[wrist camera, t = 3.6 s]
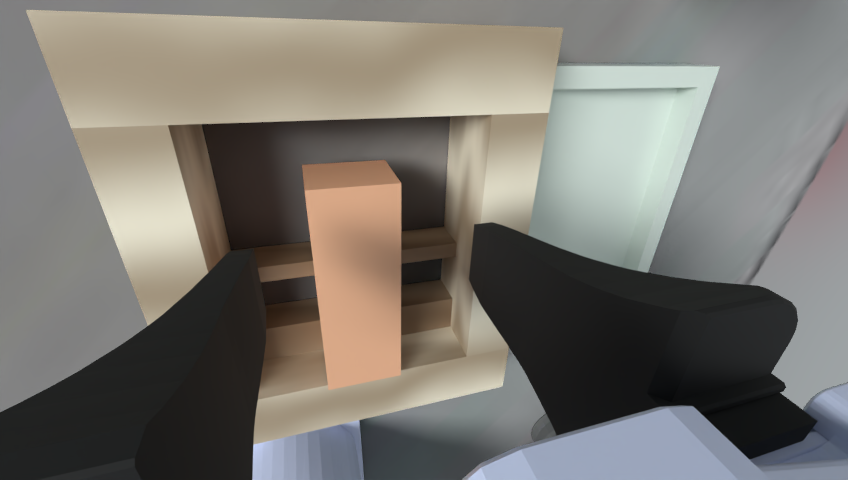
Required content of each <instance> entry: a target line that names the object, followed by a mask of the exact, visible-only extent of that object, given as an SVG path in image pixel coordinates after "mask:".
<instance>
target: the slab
mask: <svg viewBox="0 0 848 480" xmlns="http://www.w3.org/2000/svg"><path fill="white" fill-rule="evenodd" d="M302 169H303V180H304V190H305V198H306V207H307V215H308V223H309V232H310V240H311V248H312V257H313V265H314V273H315V282H316V290H317V298H318V307H319V315H320V323H321V332H322V340H323V348H324V357H325V365H326V373H327V381H328V390H332V389H337V388H342V387H346V386H351V385H356V384H361V383H366V382H370V381H375V380H380V379H385V378H390V377H395V376H399V375H401V182H400V181H399V179H398V178H397V176H396V175H395V174H394V172H393V171H392V169H391V168H390V166H389V165H388V164H387V162H386V161H385V160H376V161H359V162H342V163H325V164H308V165H302Z"/></svg>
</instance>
